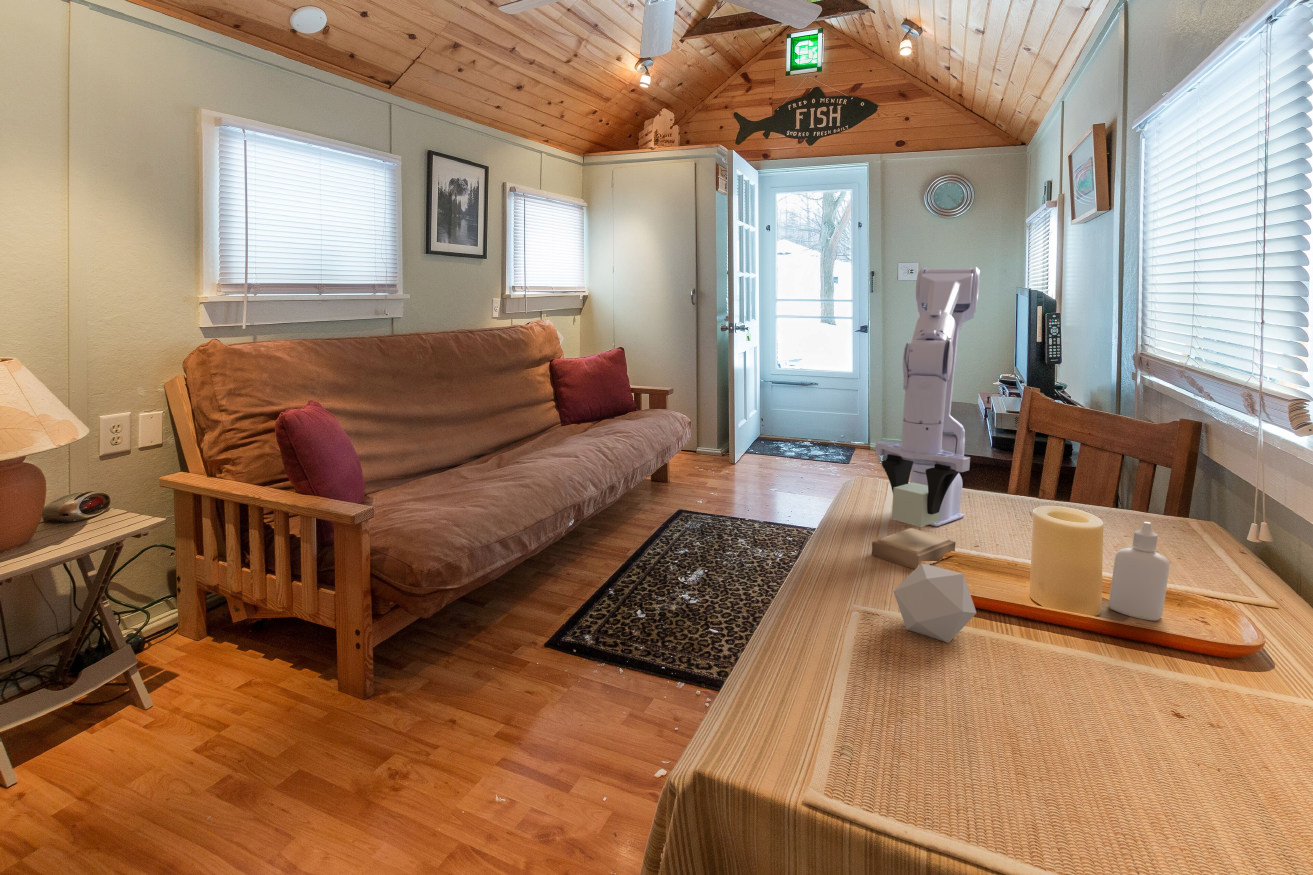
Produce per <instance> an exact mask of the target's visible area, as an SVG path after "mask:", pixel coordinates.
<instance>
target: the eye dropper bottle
mask: <svg viewBox="0 0 1313 875" xmlns="http://www.w3.org/2000/svg"><path fill="white" fill-rule="evenodd" d="M1158 536H1159V535H1158V534H1157V533H1156V532H1155V531H1153V529H1152V522H1149V521H1144V522H1143V524H1142V527H1141V529H1139V530H1135V531H1134V532H1133V539H1132V547H1124V548H1121V549H1119V550H1118V551H1117V553H1116V554H1115V558H1114V564H1113V569H1112V570H1113V571H1112V577H1111V584H1110V585H1111V586H1110V591H1109V600H1108V607H1109V609H1111V610H1112V611H1115V612H1117V613H1120V614H1123V615H1125V616H1129V617H1132V618H1136V619H1141V620H1147V621H1156V622H1157V621H1159V620H1160V619H1161V617H1163V613H1164V607H1165V600H1166V594H1167V588H1168V581H1169V580H1168V579H1169V573H1170V564H1171V563H1170V561H1169V559H1168V558H1167V557H1165V556H1164V555H1163V554H1161V553H1158V552H1156V550H1157V545H1158V544H1157V543H1158Z"/></svg>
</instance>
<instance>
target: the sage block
mask: <svg viewBox="0 0 1313 875" xmlns="http://www.w3.org/2000/svg"><path fill="white" fill-rule="evenodd" d="M927 503H928V486H927V485H922V484H918V483H913V482H912V483H910V482H908V484H905V485H901V486H897V487H894V490H893V492H892V505H891V506H892V507H891V510H892V511H891V520H894V521H899V522H902V523H905V524H908V525H912V526H915V527H919V528H922V527H925V526H929V524H931V523H934V522H937V521H940V510H941V507H940V510H939V513H936V514H933V515H931V514H928V512H927Z"/></svg>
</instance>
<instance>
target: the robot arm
mask: <svg viewBox="0 0 1313 875" xmlns="http://www.w3.org/2000/svg"><path fill="white" fill-rule="evenodd" d="M980 281H981V270H980V269H979V268H978V267H977V266H973V268H972V267H955V268H954V267H950V268H949V267H948V268H943V267H941V268H926V267H922V268H920V270H918V272H917V277H916V282H915V283H916V284H915V301H916V305H917V312H918V313H919V317H918V319H917V321H916V324H915V328H914V332H913V335H912V339H911V343H908V342H906V343H905V344H904V345H905V346H904V347H903V348H904V349H903V354H902V372H903V383H902V386H903V388H902V389H903V391H905V392H904V397H903V398H904V400H903V402H904V403H903V416H902V428H901V443H897V442H890V441H889V442H888V441H884V440H882V441H879V442H876V443H875V452H874V453H875V455H876V456H880V457H881V456H885V457H886V459H885V460H882V461H881V466H882V468H883V470H884V472H885V474H886V476H887V478H888V481H889V484H890V487H891V488H890V489H891V491H892V492H891V493H893V490H894V487H897V486H901V485H905V484H909V483H912V482H913V483H918V484H922V485H927V486H928V503H927V512H928V514H931V515H933V514H936V513H939V510H940V507H941V510H940V521H937V522H934V523H931V524H928V526H934V527H939V526H942V525H944V524H945V525H946V524H947V523H950V522H953V521H957V520H959V519H961V518H964V517H965V513H961V504H962V494H963V478H962V476H961V474H960V473H964V472H967V471H970V465H971V457H970V456H965V450H966V430H965V426H964V425H963V424H962V423H961V422H959V421H958V420H957V419H955V418H954V417H953V416H952V415H951V411H952V401H953V400H952V399H953V391H954V380H955V372H956V371H955V369H956V362H957V361H956V360H957V351H958V342H959V334H960V332H961V330H962V327H963V324H964V323H965V322H968V321H970V320H972V319H974V318H975V314H976V313H977V309H978V308H977V306H978V300H979V294H980V284H981V282H980ZM946 433H948V434H946ZM949 433H950V434H949Z"/></svg>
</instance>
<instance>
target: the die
mask: <svg viewBox="0 0 1313 875" xmlns="http://www.w3.org/2000/svg"><path fill="white" fill-rule="evenodd" d="M893 594H894V598H895V600H896V603H897V605H898V608H899V611H900V614H901V618H902V621H903V623H904V626H905V630H908V631H911V632H913V633H916V634H920V635H923V636H926V637H928V638H932V639H934V640H938V641H941V642H944V643H947V644H949V643H950V642H951V641H952V640H953V639H954V638H955V637H956V636H957V634H959V632H961V631H962V629H963V628H964V627H965V626H966V625H967V624H968V623H969V622H970V621H971V620H972V619H973V618H974V616H975V615H977V610H976V607H975V604H974V601H973V598H972V595H971V592H970V589H969V586H968V583H967V581H966V577H965V573H962V572H958V571H953V570H951V569H946V568H942V567H939V566H934V565H927V564H923V563H921V564H920V565H919V566H918V567H917V568H916V569H913V570H912V572H911V573H910V574H909V575H908V576H907V577H906V578H905V579H904V580H903V581H902V582H901V583H900V584H899V585H898V586H897V587H896V588H895V589H894V590H893Z"/></svg>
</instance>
